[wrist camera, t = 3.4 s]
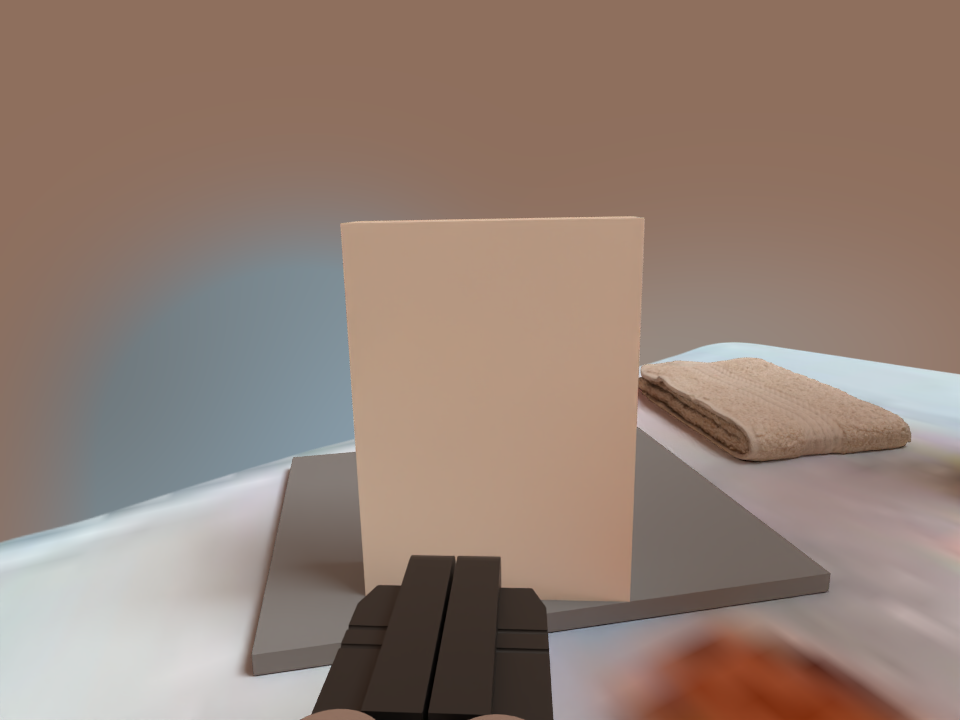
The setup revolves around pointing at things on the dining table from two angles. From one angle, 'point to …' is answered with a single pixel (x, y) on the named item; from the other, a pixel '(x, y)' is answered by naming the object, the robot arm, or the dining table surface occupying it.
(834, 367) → the dining table surface
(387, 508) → the tile
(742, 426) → the washcloth
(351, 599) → the mat
